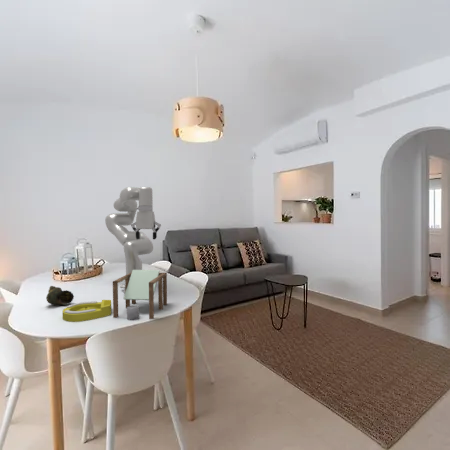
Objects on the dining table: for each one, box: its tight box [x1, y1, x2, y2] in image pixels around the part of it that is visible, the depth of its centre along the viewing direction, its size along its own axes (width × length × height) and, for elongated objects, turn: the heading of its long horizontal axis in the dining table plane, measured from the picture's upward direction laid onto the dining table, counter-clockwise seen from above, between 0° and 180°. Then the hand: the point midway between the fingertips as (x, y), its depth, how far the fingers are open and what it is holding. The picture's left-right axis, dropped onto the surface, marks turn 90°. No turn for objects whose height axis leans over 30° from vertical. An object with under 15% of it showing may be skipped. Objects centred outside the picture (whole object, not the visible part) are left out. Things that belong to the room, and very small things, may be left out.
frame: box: [112, 272, 168, 320], centre depth 140 cm, size 19×21×17 cm
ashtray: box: [62, 299, 112, 323], centre depth 134 cm, size 16×21×5 cm
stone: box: [126, 304, 140, 321], centre depth 130 cm, size 5×5×5 cm
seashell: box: [46, 285, 75, 306], centre depth 147 cm, size 11×11×10 cm
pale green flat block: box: [123, 269, 161, 301], centre depth 142 cm, size 15×16×5 cm
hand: (146, 239), depth 161 cm, fingers open, 9 cm apart
